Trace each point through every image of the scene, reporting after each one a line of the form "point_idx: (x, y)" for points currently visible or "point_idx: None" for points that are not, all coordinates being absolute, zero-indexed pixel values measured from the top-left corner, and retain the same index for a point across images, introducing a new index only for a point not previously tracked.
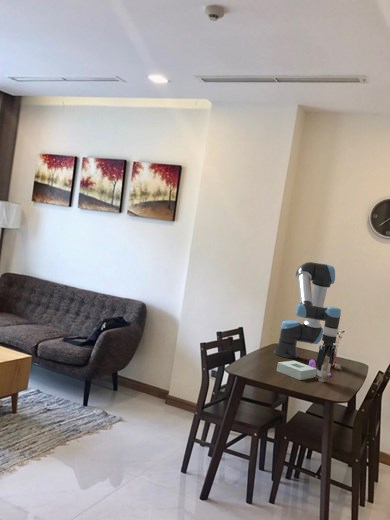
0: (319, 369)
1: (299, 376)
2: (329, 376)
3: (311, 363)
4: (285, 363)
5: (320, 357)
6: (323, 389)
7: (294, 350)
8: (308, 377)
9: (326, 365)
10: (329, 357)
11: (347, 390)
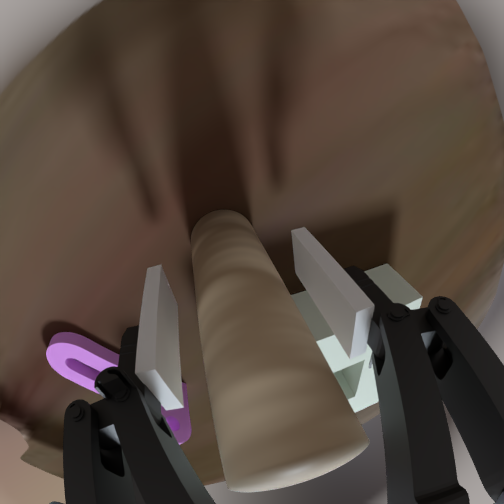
0: (361, 275)
1: (398, 278)
2: (61, 332)
3: (181, 433)
4: (363, 399)
5: (491, 366)
6: (387, 76)
7: (135, 490)
8: (299, 298)
9: (285, 320)
10: (248, 474)
11: (153, 4)
